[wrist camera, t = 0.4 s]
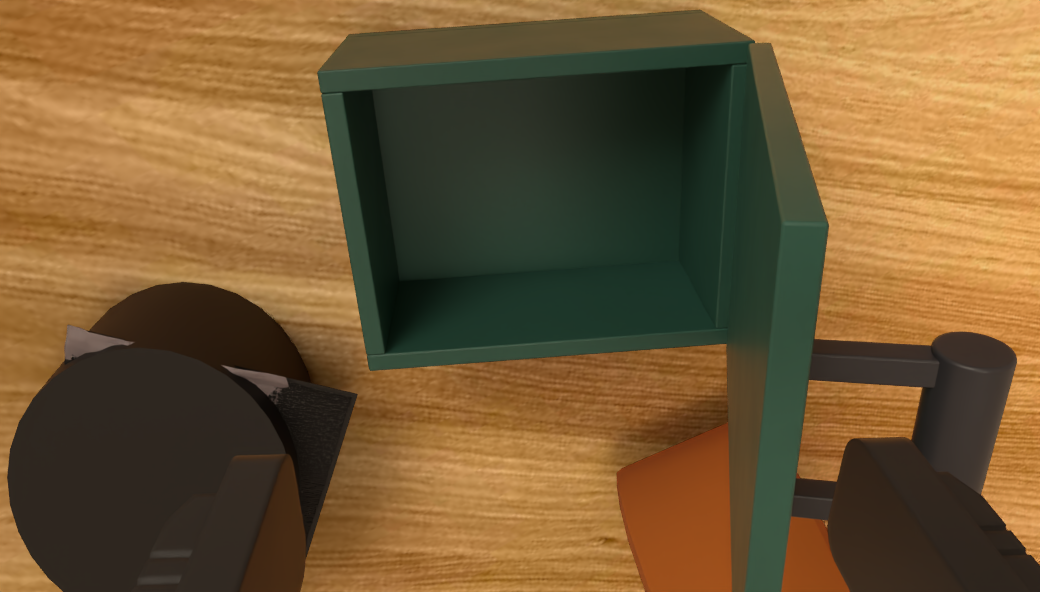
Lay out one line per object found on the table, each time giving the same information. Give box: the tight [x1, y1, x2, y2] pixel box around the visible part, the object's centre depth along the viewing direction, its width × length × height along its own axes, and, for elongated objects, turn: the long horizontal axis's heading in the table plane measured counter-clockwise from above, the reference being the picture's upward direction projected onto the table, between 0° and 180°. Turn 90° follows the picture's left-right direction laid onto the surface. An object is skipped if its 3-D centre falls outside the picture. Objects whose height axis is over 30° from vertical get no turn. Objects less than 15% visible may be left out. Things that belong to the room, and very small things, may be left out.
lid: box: [726, 43, 1017, 592], centre depth 23 cm, size 16×13×5 cm
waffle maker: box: [7, 282, 358, 592], centre depth 41 cm, size 14×18×8 cm
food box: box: [317, 10, 755, 371], centre depth 34 cm, size 16×13×8 cm
